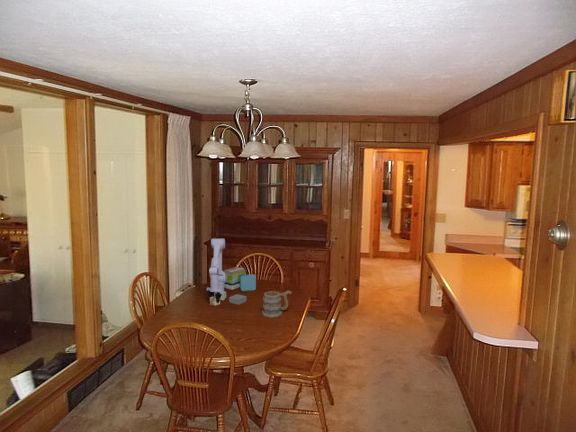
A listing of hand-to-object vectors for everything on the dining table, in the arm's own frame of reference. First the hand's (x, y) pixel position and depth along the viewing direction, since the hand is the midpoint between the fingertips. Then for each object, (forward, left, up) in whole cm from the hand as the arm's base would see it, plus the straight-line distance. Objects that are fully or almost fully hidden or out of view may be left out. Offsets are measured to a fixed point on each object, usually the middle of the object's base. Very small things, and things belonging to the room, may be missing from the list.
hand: (215, 301), depth 295 cm
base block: (+10, +13, -2) cm, 17 cm away
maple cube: (0, 0, -2) cm, 2 cm away
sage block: (-4, +11, -2) cm, 12 cm away
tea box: (-16, +39, -2) cm, 42 cm away
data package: (-2, +39, -2) cm, 39 cm away
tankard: (+47, +11, -2) cm, 48 cm away
